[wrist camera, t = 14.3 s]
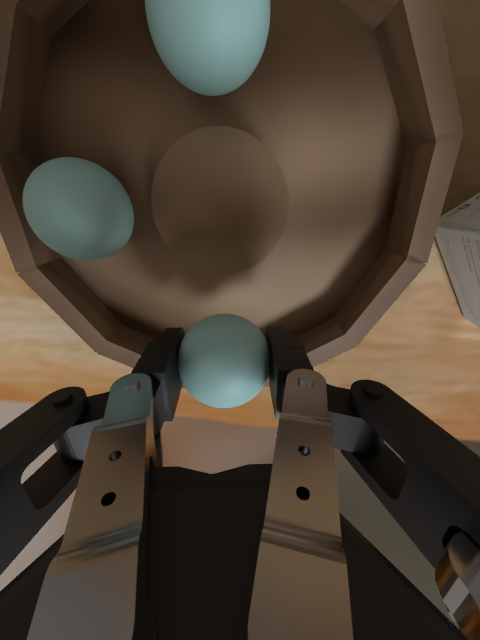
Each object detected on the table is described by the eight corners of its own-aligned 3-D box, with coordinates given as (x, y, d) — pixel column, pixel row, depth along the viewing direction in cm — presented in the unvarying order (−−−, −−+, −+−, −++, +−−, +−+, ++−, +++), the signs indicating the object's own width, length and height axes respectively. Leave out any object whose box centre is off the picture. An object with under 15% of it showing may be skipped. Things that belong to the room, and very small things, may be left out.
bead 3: (190, 370, 14) (175, 431, 11) (181, 300, 13) (160, 345, 9) (265, 368, 14) (275, 428, 11) (266, 298, 13) (279, 341, 9)
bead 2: (159, -18, 10) (107, -150, 6) (267, -23, 10) (278, -162, 6) (171, 113, 12) (135, 67, 8) (265, 110, 11) (274, 61, 8)
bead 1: (49, 162, 12) (-28, 151, 9) (137, 160, 12) (97, 149, 9) (74, 251, 14) (19, 273, 11) (151, 249, 14) (123, 270, 11)
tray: (-50, -71, 10) (-155, -167, 7) (467, -79, 10) (552, -176, 7) (88, 361, 18) (62, 391, 16) (369, 354, 18) (393, 382, 16)
